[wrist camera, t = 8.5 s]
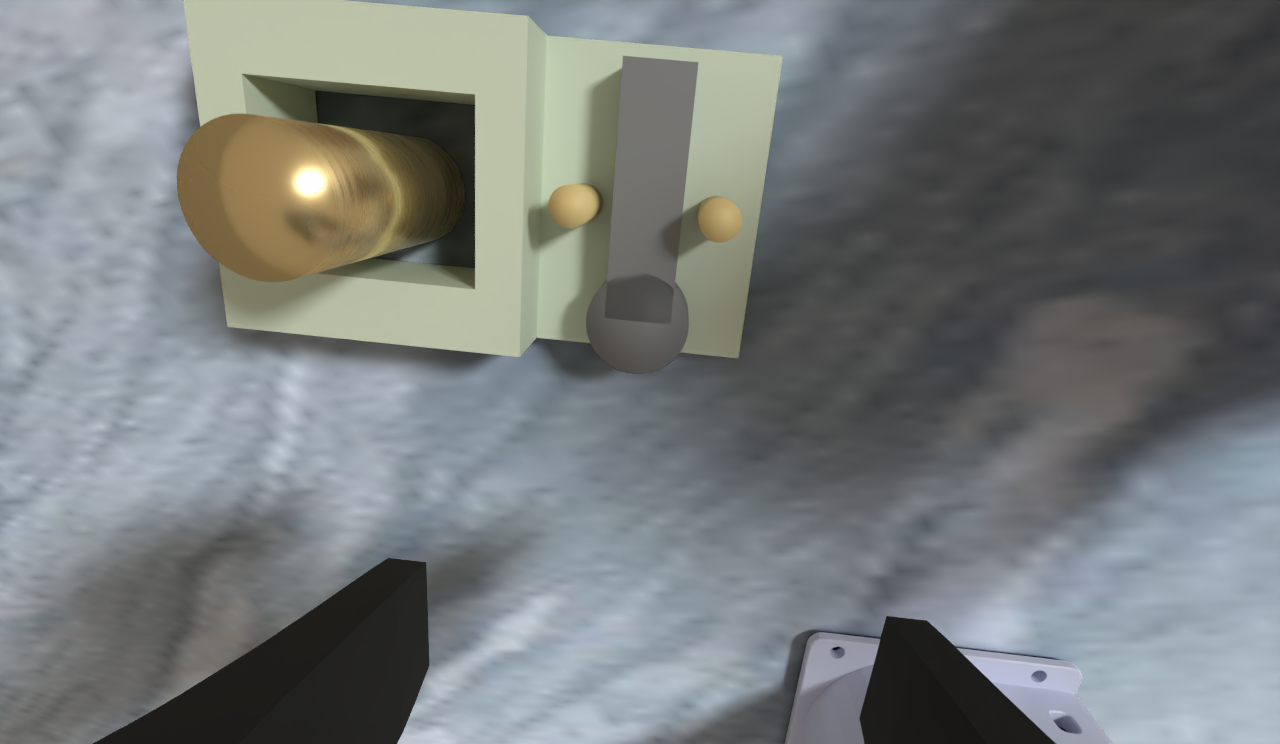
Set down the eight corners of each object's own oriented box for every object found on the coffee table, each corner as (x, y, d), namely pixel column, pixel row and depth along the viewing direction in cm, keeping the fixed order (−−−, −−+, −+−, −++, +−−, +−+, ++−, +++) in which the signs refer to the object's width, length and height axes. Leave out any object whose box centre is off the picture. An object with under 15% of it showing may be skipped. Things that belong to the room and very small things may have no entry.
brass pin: (462, 138, 17) (324, 116, 10) (468, 244, 18) (345, 285, 11) (359, 134, 17) (160, 110, 11) (371, 240, 18) (194, 278, 12)
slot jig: (776, 63, 16) (801, 34, 13) (733, 361, 19) (744, 400, 15) (267, 19, 16) (166, -19, 13) (296, 316, 19) (218, 344, 16)
